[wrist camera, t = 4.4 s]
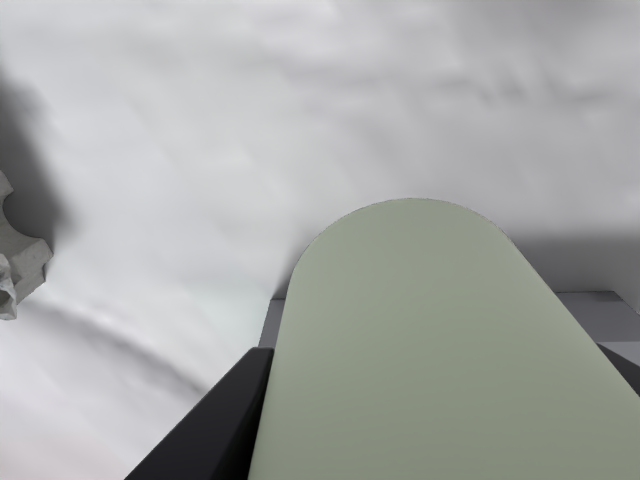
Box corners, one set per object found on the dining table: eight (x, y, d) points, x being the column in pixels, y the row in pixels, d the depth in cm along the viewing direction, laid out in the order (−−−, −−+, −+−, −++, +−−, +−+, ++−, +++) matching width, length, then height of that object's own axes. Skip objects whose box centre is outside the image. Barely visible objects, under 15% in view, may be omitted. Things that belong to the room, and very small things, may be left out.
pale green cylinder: (297, 398, 10) (222, 997, 4) (274, 203, 8) (12, 858, 2) (510, 396, 10) (818, 1055, 3) (549, 192, 8) (1574, 972, 1)
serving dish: (295, 484, 27) (289, 545, 23) (270, 299, 20) (257, 347, 17) (557, 486, 25) (587, 550, 22) (613, 291, 19) (666, 340, 16)
